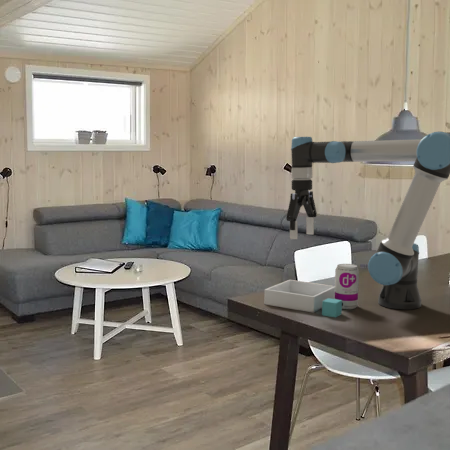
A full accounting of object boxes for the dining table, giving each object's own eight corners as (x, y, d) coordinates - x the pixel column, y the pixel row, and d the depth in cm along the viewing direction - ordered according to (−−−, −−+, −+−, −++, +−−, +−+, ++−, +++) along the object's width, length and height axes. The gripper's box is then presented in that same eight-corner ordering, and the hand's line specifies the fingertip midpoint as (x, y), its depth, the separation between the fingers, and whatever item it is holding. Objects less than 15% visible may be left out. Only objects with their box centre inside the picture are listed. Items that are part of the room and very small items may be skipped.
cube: (341, 314, 217) (341, 300, 217) (335, 317, 213) (336, 303, 213) (328, 312, 220) (328, 298, 219) (322, 315, 216) (322, 301, 215)
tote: (336, 300, 235) (336, 286, 235) (313, 312, 219) (314, 297, 218) (289, 293, 246) (289, 279, 245) (264, 304, 230) (264, 289, 229)
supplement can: (357, 310, 222) (359, 268, 220) (333, 308, 224) (335, 267, 222) (357, 304, 230) (359, 264, 228) (334, 303, 232) (335, 262, 230)
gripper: (307, 177, 244) (307, 232, 246) (276, 180, 223) (277, 240, 226) (325, 177, 240) (325, 233, 242) (295, 181, 219) (295, 241, 222)
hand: (302, 236), depth 234 cm, fingers open, 13 cm apart
